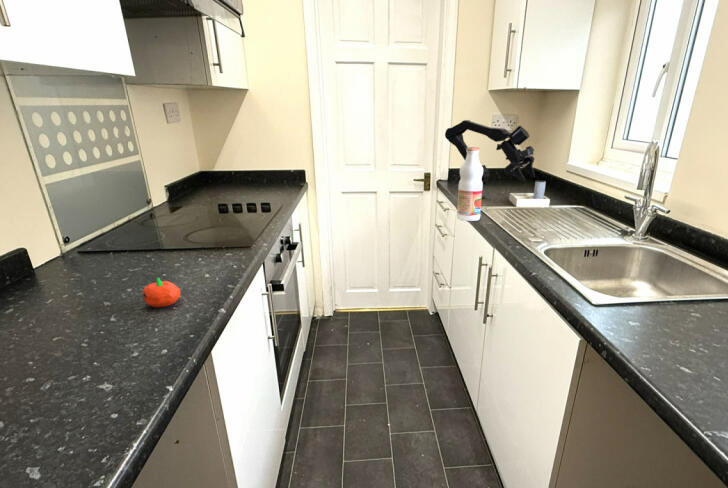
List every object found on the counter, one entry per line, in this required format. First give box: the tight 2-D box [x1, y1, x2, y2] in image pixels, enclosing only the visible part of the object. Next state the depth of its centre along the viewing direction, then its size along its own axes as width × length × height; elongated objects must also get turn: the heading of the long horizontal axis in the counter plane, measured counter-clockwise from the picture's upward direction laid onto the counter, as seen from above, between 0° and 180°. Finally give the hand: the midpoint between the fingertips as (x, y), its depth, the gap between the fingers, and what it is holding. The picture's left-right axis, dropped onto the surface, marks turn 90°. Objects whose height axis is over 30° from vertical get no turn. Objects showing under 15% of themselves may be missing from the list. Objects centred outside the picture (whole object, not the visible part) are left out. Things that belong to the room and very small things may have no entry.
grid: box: [508, 192, 551, 208], centre depth 195 cm, size 15×15×4 cm
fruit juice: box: [456, 146, 483, 222], centre depth 163 cm, size 9×9×28 cm
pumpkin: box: [142, 277, 182, 308], centre depth 93 cm, size 7×8×6 cm
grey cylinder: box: [533, 179, 547, 199], centre depth 190 cm, size 4×4×10 cm
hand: (529, 179), depth 190 cm, fingers open, 9 cm apart
